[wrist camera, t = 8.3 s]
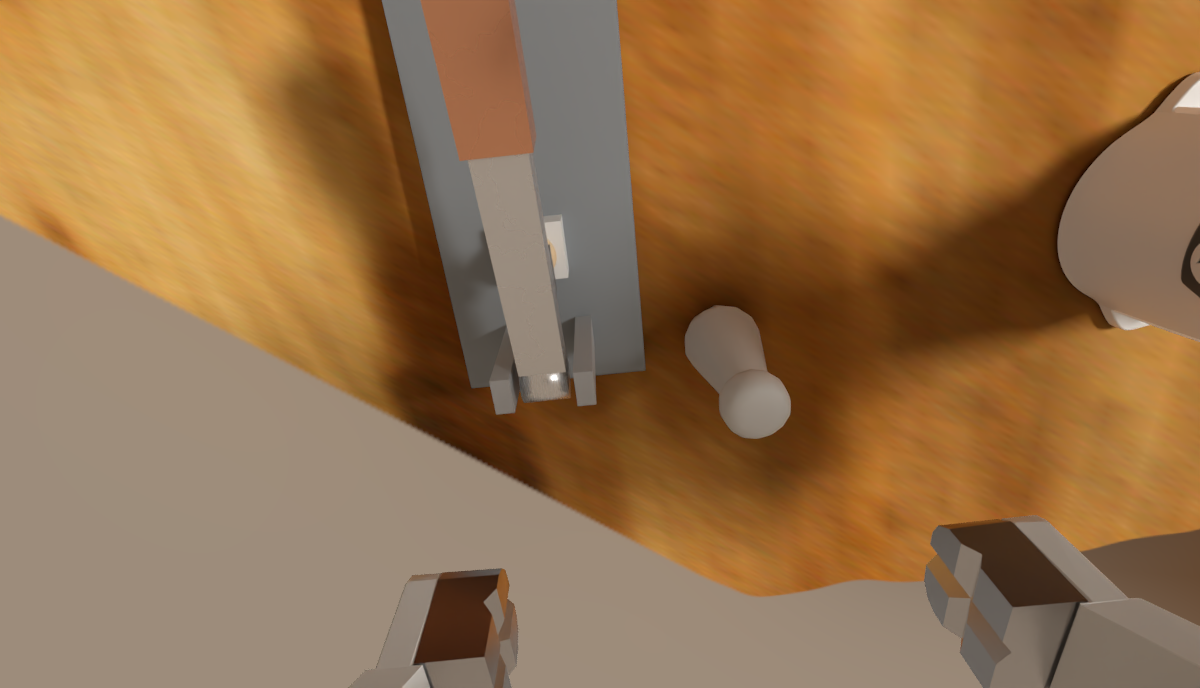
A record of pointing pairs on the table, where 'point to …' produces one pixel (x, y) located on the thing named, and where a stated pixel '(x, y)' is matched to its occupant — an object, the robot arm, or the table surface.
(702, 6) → the table surface
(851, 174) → the table surface
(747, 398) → the salt shaker
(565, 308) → the base
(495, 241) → the lever
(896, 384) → the table surface
